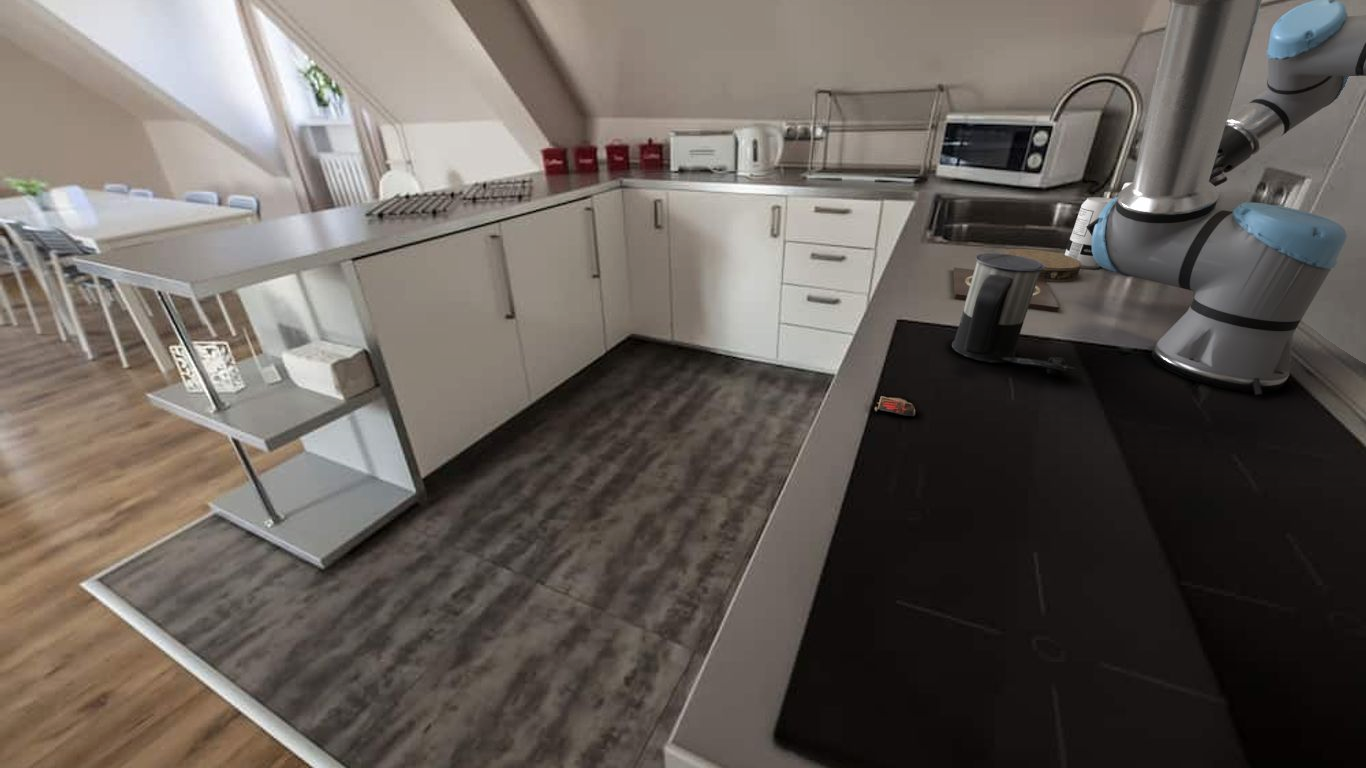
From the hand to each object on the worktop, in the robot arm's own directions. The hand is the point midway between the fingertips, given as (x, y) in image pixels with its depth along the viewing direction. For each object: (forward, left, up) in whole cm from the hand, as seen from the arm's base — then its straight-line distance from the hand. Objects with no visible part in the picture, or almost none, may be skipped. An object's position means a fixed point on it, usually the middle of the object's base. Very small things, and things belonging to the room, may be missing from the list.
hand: (1099, 235), depth 103 cm
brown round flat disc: (+23, +4, -14) cm, 27 cm away
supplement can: (+34, -7, -14) cm, 37 cm away
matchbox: (-56, +30, -14) cm, 65 cm away
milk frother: (-34, +15, -14) cm, 40 cm away
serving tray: (+4, +13, -14) cm, 19 cm away
